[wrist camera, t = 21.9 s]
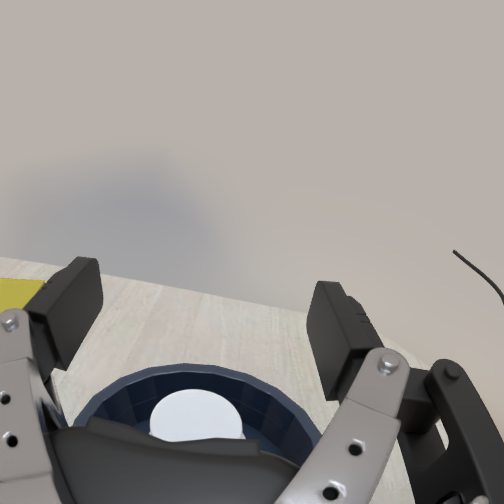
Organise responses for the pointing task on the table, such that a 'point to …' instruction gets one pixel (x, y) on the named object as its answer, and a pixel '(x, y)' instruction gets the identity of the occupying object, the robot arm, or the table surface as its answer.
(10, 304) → the flat olive board
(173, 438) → the pill bottle
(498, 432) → the robot arm
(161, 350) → the table surface
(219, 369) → the pot
